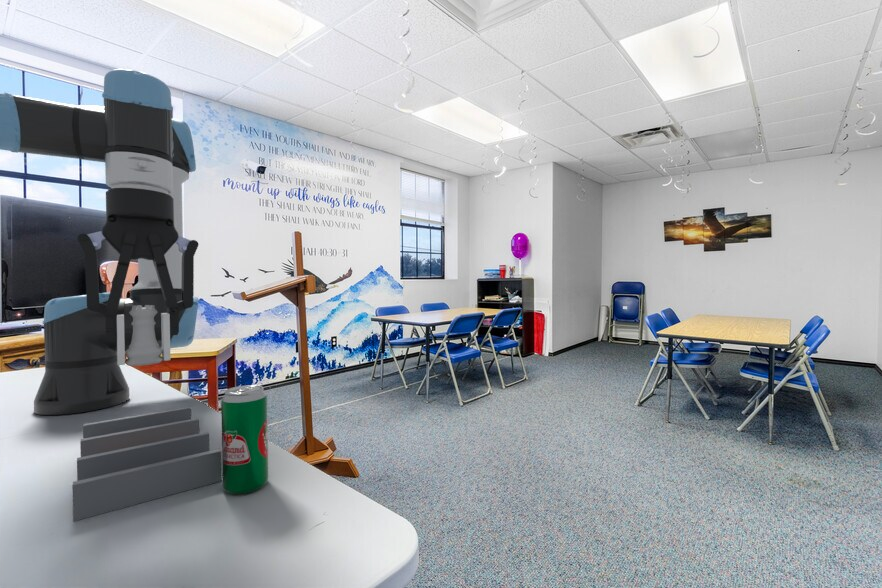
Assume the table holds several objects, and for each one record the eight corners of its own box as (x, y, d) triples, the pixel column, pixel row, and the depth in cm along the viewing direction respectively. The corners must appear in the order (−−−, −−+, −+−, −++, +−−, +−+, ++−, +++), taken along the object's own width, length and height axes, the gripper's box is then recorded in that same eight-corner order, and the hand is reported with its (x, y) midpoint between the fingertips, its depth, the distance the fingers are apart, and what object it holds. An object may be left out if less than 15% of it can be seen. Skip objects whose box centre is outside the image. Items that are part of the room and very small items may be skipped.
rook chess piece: (137, 360, 59) (136, 305, 59) (170, 360, 59) (169, 304, 59) (115, 366, 54) (114, 306, 54) (151, 365, 55) (150, 305, 55)
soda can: (212, 492, 49) (211, 392, 49) (247, 474, 54) (245, 382, 54) (244, 500, 47) (242, 396, 47) (277, 480, 52) (276, 386, 52)
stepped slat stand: (84, 448, 63) (83, 424, 63) (190, 428, 71) (190, 406, 71) (73, 521, 43) (72, 485, 43) (221, 480, 52) (221, 451, 52)
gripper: (50, 175, 48) (55, 374, 49) (217, 195, 59) (220, 357, 60) (57, 187, 54) (61, 365, 54) (207, 203, 65) (210, 351, 65)
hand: (144, 360), depth 57 cm, fingers closed on rook chess piece, 4 cm apart
